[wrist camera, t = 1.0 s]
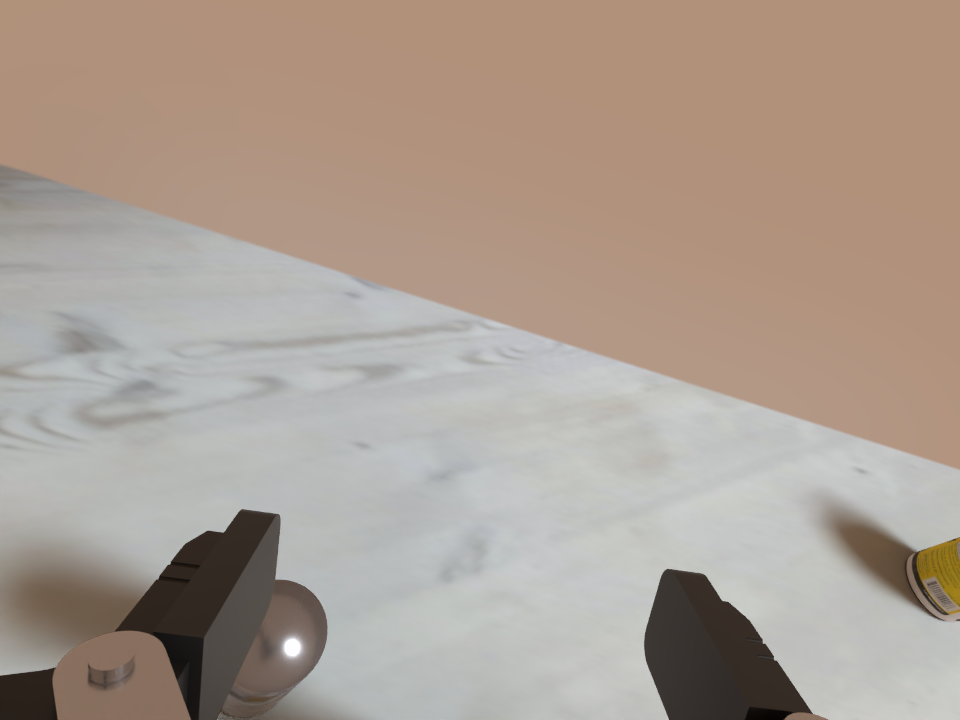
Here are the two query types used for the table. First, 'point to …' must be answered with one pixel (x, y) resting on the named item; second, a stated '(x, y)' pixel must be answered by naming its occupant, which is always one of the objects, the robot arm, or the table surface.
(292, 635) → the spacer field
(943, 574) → the supplement bottle
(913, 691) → the table surface
